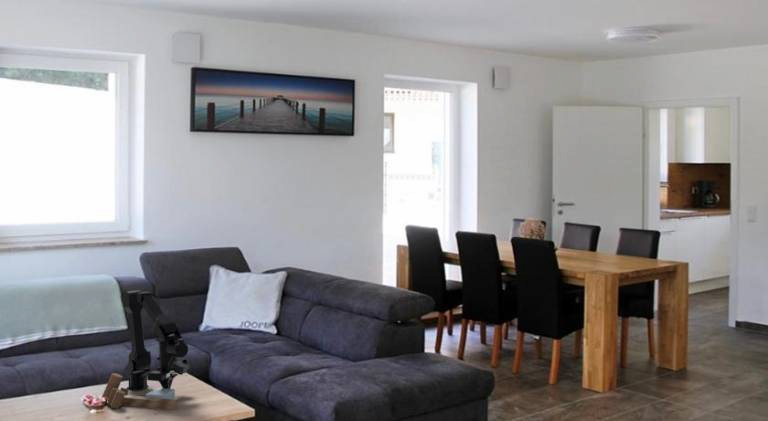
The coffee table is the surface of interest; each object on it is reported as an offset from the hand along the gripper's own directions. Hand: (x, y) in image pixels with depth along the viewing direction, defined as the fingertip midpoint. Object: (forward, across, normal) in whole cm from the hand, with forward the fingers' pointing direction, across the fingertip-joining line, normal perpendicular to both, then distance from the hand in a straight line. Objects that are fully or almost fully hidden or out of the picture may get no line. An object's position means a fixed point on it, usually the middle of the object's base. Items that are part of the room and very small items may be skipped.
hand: (167, 393), depth 309 cm
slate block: (+2, -6, -1) cm, 6 cm away
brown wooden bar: (+2, -12, 0) cm, 13 cm away
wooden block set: (+2, -12, +15) cm, 19 cm away
